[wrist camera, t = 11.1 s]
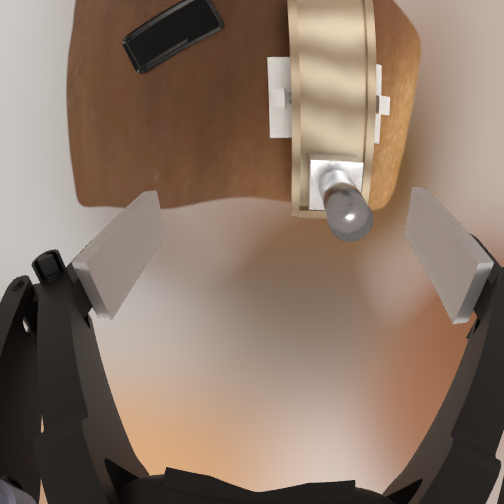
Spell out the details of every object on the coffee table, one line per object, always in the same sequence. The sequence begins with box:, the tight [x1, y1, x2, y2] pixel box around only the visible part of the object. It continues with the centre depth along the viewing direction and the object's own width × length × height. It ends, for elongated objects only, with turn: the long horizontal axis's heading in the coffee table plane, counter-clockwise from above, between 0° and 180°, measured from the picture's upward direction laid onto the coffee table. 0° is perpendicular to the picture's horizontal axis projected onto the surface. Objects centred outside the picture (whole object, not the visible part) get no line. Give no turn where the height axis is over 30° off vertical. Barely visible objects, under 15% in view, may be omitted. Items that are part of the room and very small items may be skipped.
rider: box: [307, 152, 373, 242], centre depth 29 cm, size 6×6×13 cm
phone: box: [122, 0, 224, 73], centre depth 32 cm, size 8×1×15 cm
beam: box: [287, 0, 376, 219], centre depth 30 cm, size 30×11×5 cm, turn 2°
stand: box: [267, 57, 390, 143], centre depth 35 cm, size 20×16×7 cm
